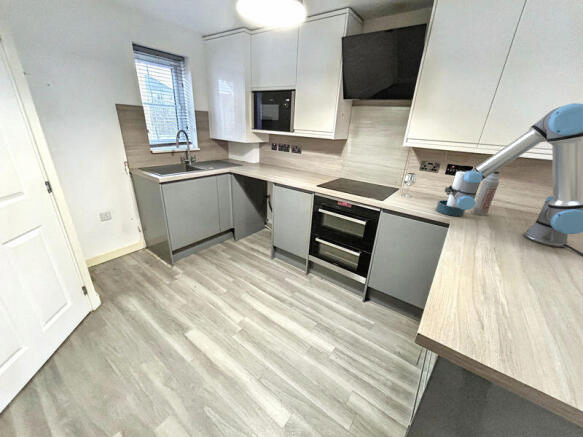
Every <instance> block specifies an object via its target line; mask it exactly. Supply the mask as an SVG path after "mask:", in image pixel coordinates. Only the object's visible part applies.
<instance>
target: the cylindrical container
mask: <svg viewBox="0 0 583 437" xmlns="http://www.w3.org/2000/svg"><path fill="white" fill-rule="evenodd" d="M465 172H466V171H461V170H460V171H459V170H458V171H456V172H455V175H454V179H453V183H452V185H451V186H452V188H453V189H455V190H459V189H460V187H461V184H462V179H463V176H464V175H465ZM447 200H448V202H447V206H451V207H458V206H457V204H456V201H455V199H454V197H453V195H452V194H450V195H448V199H447Z"/></svg>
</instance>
